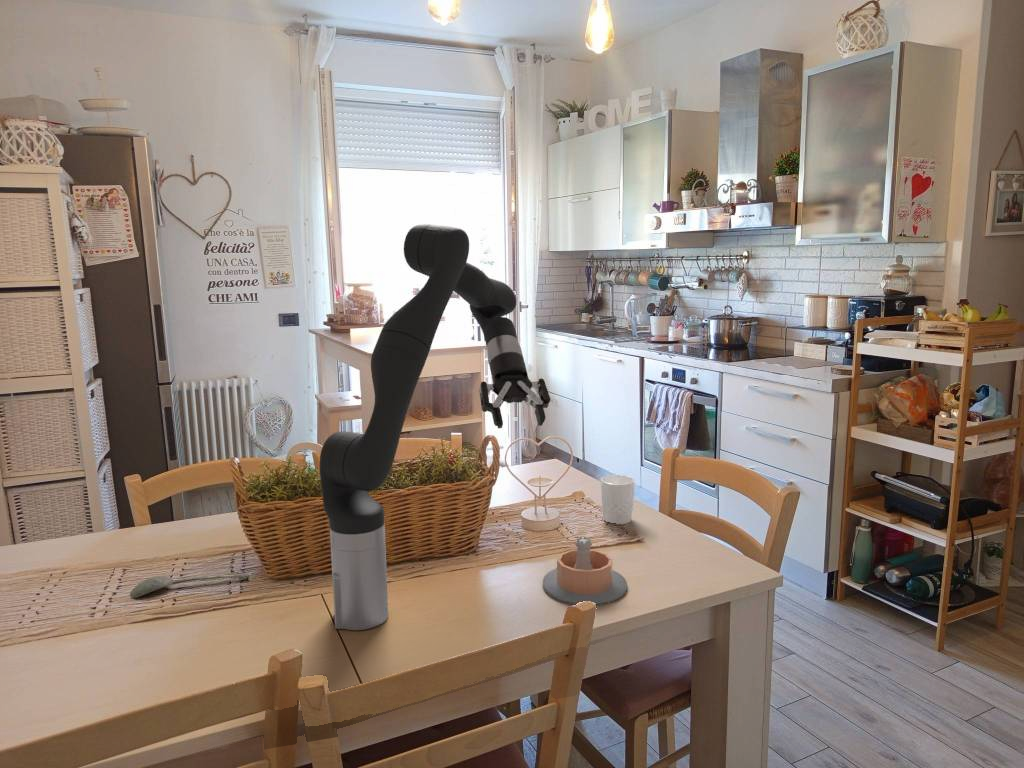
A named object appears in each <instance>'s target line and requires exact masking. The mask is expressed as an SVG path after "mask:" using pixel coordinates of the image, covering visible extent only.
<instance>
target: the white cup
mask: <svg viewBox="0 0 1024 768" xmlns="http://www.w3.org/2000/svg"><path fill="white" fill-rule="evenodd" d="M600 482H601V483H600V485H601V505H602V506H601V508H602V520H603V519H604V520H605V521H606V522H605V521H604V520H603V521H604V522H605V523H607V522H610V523H616V524H615V525H619V524H620V525H626V524H629V523H631V521H632V517H633V516H632V514H633V509H634V508H633V506H634V498H635V497H634V496H635V478H633V477H631V476H629V475H624V474H610V475H605V476H603V477H601V479H600ZM610 523H609V524H610Z"/></svg>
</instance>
